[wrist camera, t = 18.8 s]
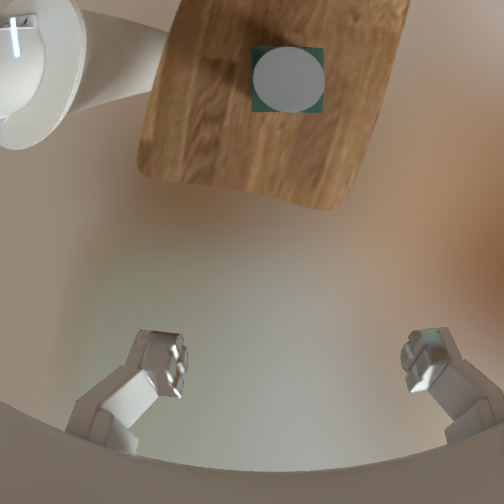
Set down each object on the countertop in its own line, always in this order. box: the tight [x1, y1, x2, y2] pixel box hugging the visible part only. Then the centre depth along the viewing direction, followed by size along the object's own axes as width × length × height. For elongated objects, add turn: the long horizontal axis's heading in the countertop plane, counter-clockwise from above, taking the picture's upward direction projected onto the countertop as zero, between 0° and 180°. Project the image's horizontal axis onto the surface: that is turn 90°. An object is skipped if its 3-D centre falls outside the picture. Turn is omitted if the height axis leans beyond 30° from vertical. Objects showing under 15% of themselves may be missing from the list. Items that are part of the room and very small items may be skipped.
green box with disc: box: [251, 46, 325, 114], centre depth 24 cm, size 11×6×6 cm
